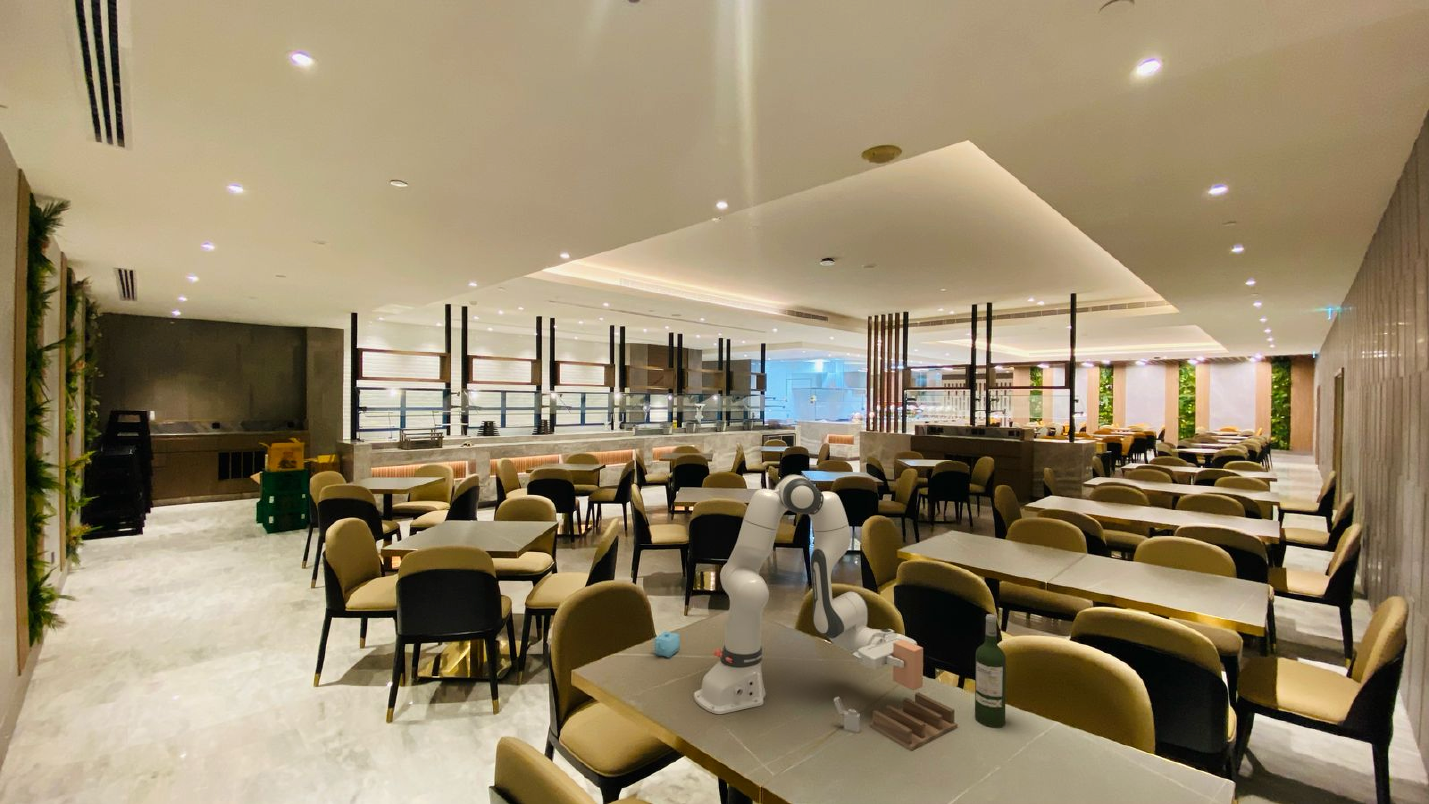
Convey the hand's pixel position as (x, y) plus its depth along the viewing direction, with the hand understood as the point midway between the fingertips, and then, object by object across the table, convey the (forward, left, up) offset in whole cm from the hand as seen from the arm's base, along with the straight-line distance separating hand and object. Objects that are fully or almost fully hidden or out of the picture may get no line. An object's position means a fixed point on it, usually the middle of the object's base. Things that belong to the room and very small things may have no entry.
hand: (910, 662), depth 172 cm
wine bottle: (+20, -12, -17) cm, 29 cm away
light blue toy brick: (-35, +77, -18) cm, 86 cm away
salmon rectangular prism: (0, +1, -7) cm, 7 cm away
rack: (-1, -2, -17) cm, 17 cm away
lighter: (-17, +8, -18) cm, 26 cm away
